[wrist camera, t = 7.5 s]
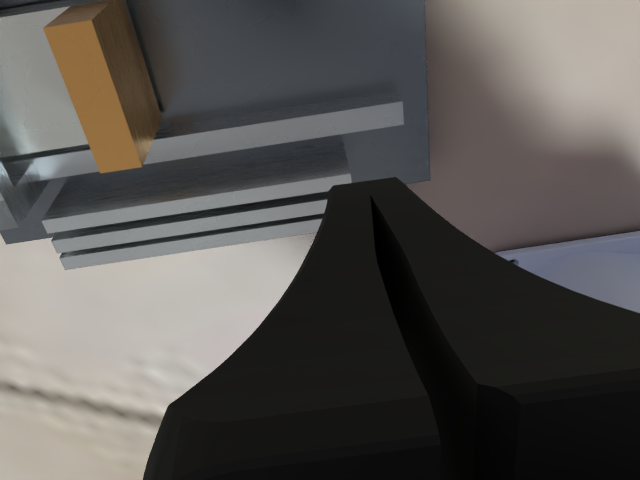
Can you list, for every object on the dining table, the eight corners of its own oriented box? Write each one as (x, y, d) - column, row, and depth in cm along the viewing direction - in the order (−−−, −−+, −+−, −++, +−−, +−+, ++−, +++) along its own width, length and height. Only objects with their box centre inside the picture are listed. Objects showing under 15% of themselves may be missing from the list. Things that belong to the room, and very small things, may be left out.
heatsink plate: (407, -229, 16) (443, -250, 12) (423, 165, 23) (449, 221, 19) (-167, -133, 16) (-284, -127, 13) (18, 226, 23) (-27, 293, 20)
